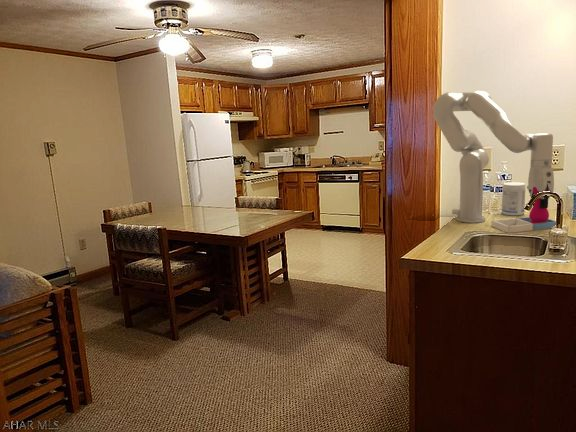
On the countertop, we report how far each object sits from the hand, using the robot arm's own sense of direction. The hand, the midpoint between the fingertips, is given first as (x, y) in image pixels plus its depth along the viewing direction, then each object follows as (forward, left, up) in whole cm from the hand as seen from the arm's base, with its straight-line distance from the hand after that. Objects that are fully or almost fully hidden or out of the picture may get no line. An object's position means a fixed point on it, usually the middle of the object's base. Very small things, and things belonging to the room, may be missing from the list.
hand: (539, 206), depth 177 cm
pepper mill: (0, 0, -9) cm, 9 cm away
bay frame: (-4, -5, -8) cm, 10 cm away
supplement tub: (-17, +17, -9) cm, 25 cm away
